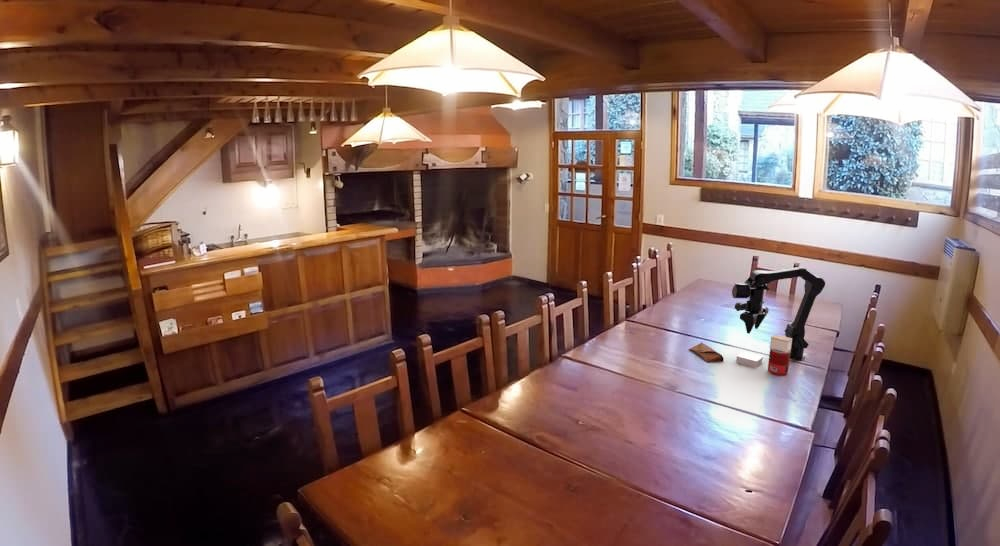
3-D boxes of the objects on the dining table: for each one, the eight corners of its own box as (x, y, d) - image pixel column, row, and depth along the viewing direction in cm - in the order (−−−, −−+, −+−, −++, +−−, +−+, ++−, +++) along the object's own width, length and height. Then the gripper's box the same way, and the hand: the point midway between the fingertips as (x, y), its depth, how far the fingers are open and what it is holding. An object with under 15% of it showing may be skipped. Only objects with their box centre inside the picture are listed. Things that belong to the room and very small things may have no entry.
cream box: (773, 345, 259) (775, 334, 258) (790, 349, 254) (792, 338, 253) (769, 348, 256) (770, 337, 254) (786, 352, 251) (788, 341, 250)
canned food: (789, 376, 253) (792, 352, 251) (769, 375, 255) (772, 351, 252) (785, 369, 260) (788, 346, 258) (765, 368, 262) (768, 344, 259)
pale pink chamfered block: (742, 358, 273) (742, 352, 273) (762, 363, 267) (762, 357, 266) (736, 362, 268) (736, 356, 268) (756, 367, 262) (756, 361, 262)
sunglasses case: (686, 348, 284) (693, 337, 283) (696, 354, 286) (704, 343, 285) (707, 363, 267) (715, 350, 266) (718, 369, 269) (726, 357, 268)
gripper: (746, 291, 281) (743, 322, 284) (730, 298, 267) (726, 331, 271) (770, 295, 273) (766, 327, 277) (755, 304, 260) (751, 337, 264)
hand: (752, 331), depth 272 cm, fingers open, 9 cm apart
